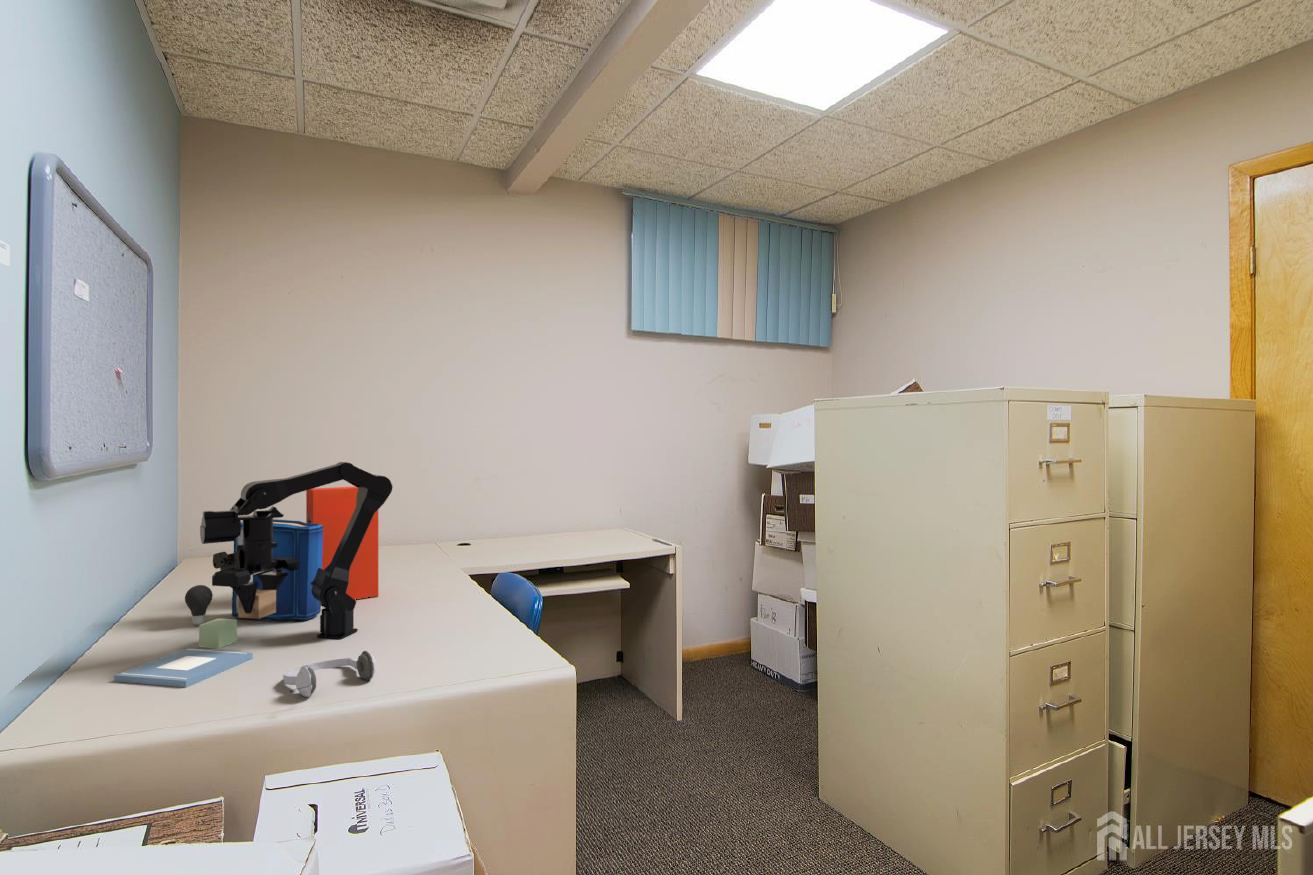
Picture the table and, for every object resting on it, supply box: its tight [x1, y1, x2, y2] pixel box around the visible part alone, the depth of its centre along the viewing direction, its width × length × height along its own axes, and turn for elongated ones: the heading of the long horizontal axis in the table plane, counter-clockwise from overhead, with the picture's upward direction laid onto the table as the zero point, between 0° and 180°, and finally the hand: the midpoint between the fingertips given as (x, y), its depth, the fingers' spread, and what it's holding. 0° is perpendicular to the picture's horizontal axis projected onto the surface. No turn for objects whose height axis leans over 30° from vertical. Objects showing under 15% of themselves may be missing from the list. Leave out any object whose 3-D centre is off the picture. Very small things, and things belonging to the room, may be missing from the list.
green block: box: [198, 618, 238, 649], centre depth 148 cm, size 5×5×5 cm
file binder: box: [305, 486, 379, 601], centre depth 188 cm, size 8×17×32 cm, turn 131°
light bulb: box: [184, 584, 214, 627], centre depth 161 cm, size 6×6×10 cm
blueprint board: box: [113, 647, 254, 688], centre depth 132 cm, size 16×16×1 cm
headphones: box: [282, 650, 377, 699], centre depth 124 cm, size 17×6×20 cm
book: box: [231, 518, 323, 622], centre depth 169 cm, size 22×7×25 cm, turn 84°
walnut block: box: [237, 589, 276, 619], centre depth 144 cm, size 5×5×5 cm
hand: (257, 609), depth 144 cm, fingers closed on walnut block, 5 cm apart
